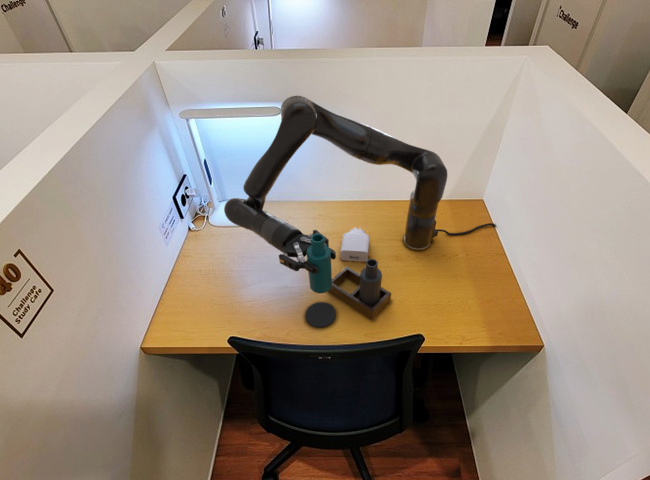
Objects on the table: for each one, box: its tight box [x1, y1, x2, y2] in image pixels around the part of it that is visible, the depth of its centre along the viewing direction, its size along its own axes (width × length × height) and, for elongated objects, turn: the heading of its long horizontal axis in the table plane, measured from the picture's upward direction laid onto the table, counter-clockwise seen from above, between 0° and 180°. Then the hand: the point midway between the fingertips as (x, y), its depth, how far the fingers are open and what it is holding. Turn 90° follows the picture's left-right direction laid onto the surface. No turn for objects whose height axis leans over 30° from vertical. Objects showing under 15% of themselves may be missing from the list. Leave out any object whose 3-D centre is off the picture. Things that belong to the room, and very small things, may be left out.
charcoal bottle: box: [358, 258, 383, 308], centre depth 106 cm, size 6×6×18 cm
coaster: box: [305, 301, 337, 329], centre depth 109 cm, size 9×9×1 cm
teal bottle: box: [306, 233, 333, 294], centre depth 95 cm, size 6×6×18 cm
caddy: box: [328, 266, 392, 321], centre depth 113 cm, size 9×17×4 cm, turn 49°
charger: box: [339, 226, 370, 263], centre depth 128 cm, size 5×9×15 cm
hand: (326, 263), depth 93 cm, fingers closed on teal bottle, 6 cm apart
